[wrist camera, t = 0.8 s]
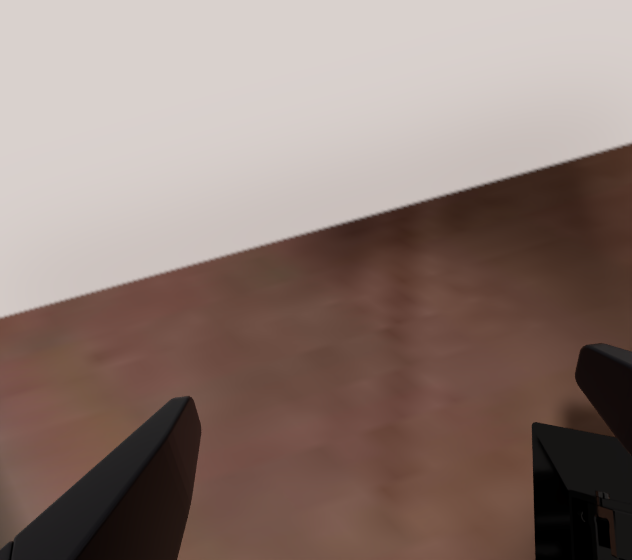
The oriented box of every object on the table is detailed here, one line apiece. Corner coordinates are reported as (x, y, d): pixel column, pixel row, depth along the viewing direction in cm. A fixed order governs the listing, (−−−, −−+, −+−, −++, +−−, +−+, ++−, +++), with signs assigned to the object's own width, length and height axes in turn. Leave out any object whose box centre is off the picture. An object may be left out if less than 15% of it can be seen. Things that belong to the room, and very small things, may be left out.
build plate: (512, 392, 19) (545, 378, 15) (673, 421, 18) (761, 414, 13) (512, 695, 15) (560, 794, 11) (732, 778, 13) (896, 938, 9)
